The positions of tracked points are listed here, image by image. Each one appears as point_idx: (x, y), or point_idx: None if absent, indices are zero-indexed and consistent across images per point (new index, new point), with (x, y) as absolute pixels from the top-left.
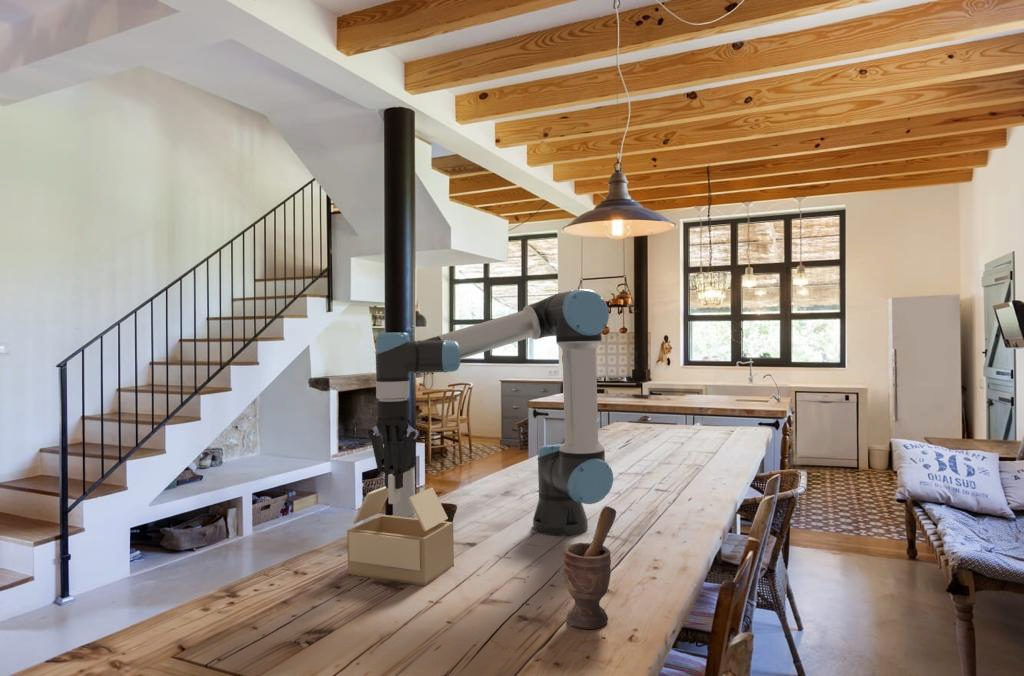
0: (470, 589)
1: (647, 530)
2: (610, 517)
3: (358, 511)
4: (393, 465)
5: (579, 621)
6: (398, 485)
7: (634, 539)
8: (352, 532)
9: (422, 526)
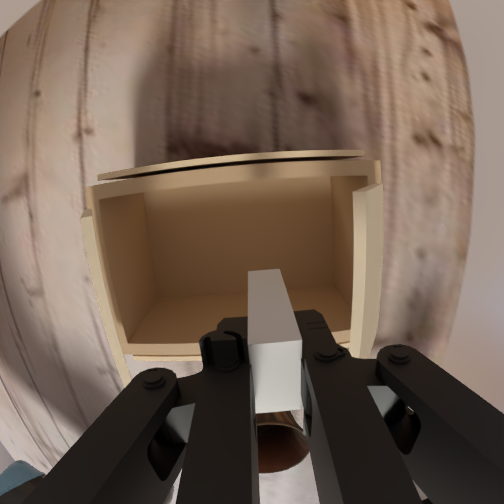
0: (61, 212)
1: None
2: None
3: (377, 185)
4: (308, 439)
5: None
6: (225, 327)
7: (42, 447)
8: (351, 150)
9: (89, 209)
